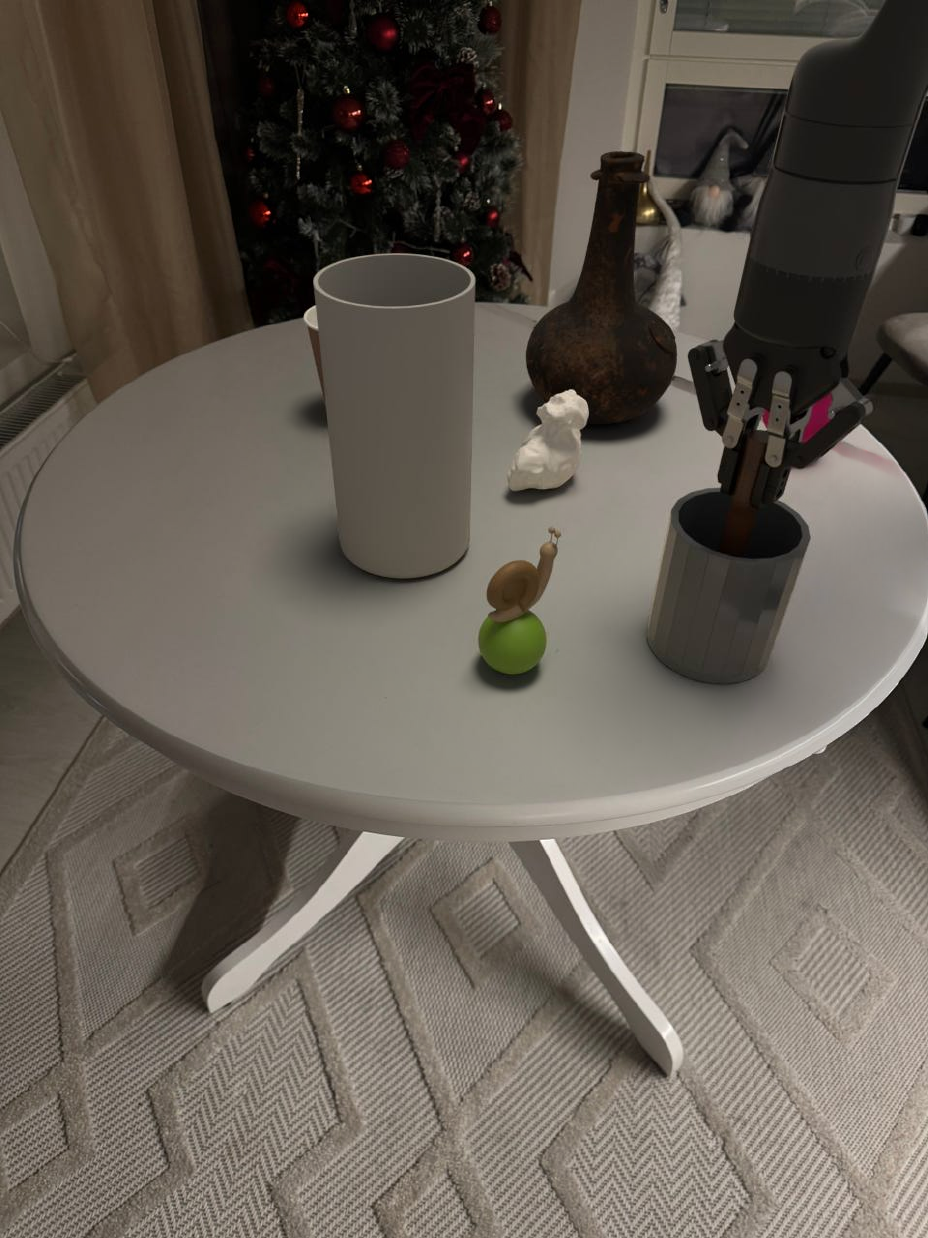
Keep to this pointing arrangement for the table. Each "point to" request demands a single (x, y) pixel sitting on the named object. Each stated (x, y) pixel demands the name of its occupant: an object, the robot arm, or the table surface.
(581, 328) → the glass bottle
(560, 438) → the bust
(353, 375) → the cylinder vase
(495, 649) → the snail figurine
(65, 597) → the table surface
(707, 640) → the grey pencil holder
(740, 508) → the brush
